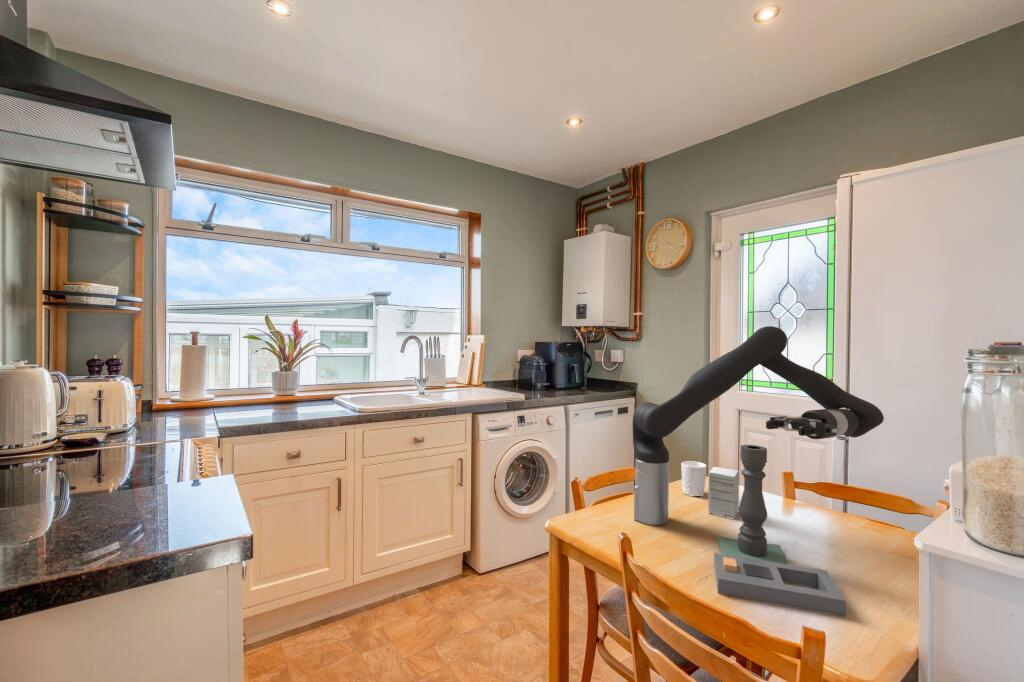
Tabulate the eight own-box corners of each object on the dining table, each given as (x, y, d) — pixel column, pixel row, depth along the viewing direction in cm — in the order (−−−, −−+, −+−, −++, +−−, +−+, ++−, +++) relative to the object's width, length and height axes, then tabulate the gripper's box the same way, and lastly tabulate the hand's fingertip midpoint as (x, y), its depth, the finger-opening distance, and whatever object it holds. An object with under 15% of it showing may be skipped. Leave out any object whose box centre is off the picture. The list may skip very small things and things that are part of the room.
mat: (722, 561, 107) (722, 557, 107) (718, 540, 118) (718, 536, 118) (790, 572, 102) (791, 568, 102) (779, 549, 113) (779, 545, 113)
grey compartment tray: (718, 593, 94) (718, 572, 94) (713, 565, 105) (714, 547, 105) (845, 616, 86) (846, 594, 86) (826, 584, 97) (826, 564, 97)
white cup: (676, 490, 157) (677, 461, 157) (698, 489, 158) (699, 460, 158) (687, 498, 149) (687, 467, 149) (710, 497, 150) (711, 467, 150)
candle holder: (770, 558, 107) (772, 451, 106) (742, 555, 108) (743, 449, 108) (761, 546, 113) (763, 445, 112) (734, 543, 114) (736, 443, 114)
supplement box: (713, 506, 142) (713, 466, 142) (739, 512, 138) (739, 470, 138) (707, 513, 136) (708, 471, 136) (734, 519, 132) (735, 476, 132)
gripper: (797, 405, 128) (757, 408, 121) (853, 413, 115) (812, 417, 108) (796, 432, 128) (757, 437, 121) (852, 443, 115) (811, 449, 108)
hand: (783, 428), depth 114 cm, fingers open, 8 cm apart
